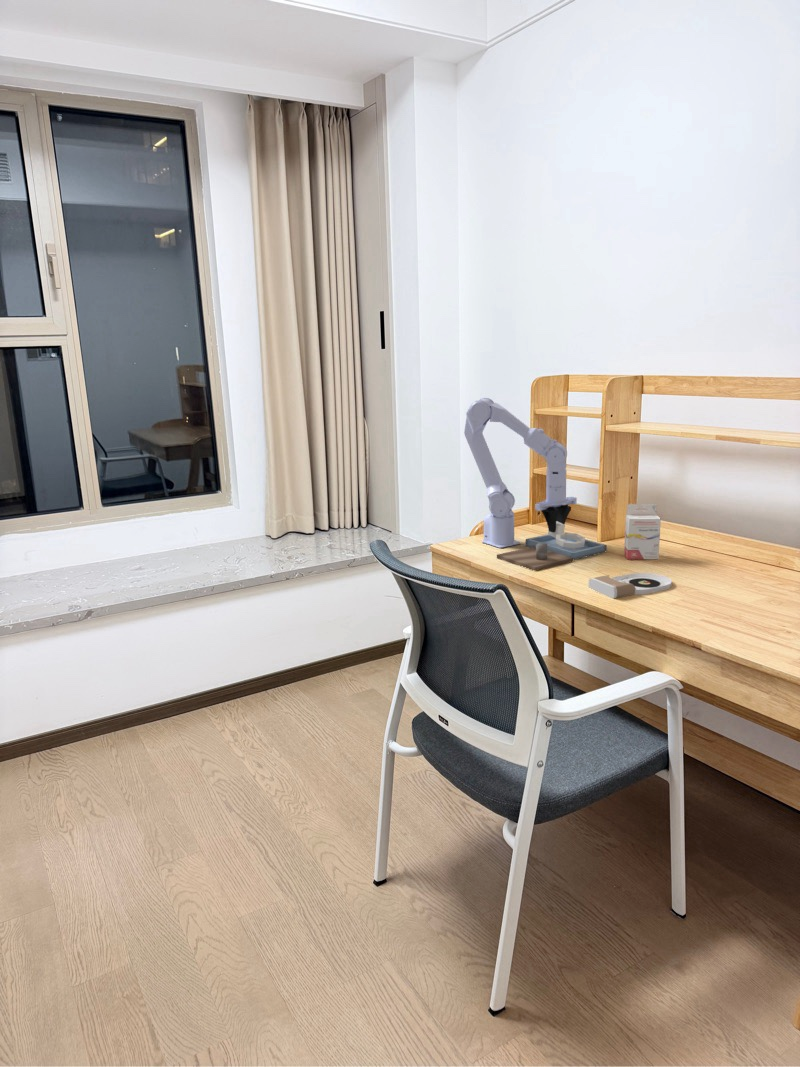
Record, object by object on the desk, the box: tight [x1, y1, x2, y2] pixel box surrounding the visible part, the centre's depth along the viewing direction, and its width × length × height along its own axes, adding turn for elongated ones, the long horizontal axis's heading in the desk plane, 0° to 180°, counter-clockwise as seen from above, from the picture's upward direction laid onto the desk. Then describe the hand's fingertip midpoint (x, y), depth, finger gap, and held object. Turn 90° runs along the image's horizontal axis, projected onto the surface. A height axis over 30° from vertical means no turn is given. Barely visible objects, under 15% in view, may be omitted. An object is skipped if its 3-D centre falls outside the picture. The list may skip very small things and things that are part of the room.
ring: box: [547, 521, 586, 548], centre depth 218 cm, size 12×8×4 cm
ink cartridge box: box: [623, 503, 662, 561], centre depth 206 cm, size 9×5×15 cm, turn 84°
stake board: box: [496, 543, 574, 571], centre depth 209 cm, size 16×14×5 cm
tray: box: [525, 533, 608, 561], centre depth 219 cm, size 20×13×2 cm, turn 31°
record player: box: [588, 572, 673, 600], centre depth 184 cm, size 12×3×20 cm
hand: (555, 530), depth 222 cm, fingers closed on ring, 2 cm apart
